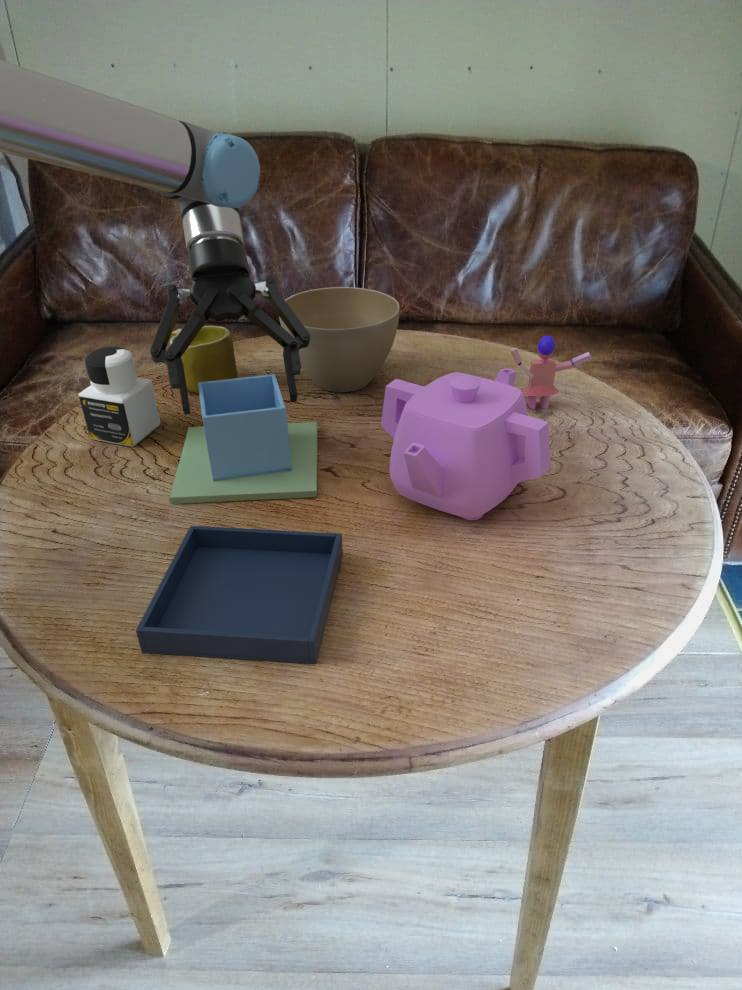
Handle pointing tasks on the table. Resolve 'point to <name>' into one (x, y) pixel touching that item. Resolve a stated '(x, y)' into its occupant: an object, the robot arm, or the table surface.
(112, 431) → the medicine bottle
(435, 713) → the table surface
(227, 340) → the mug
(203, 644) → the lower bin
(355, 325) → the beige bowl
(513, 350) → the figurine
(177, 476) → the mat
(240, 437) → the upper bin
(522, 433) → the teapot
